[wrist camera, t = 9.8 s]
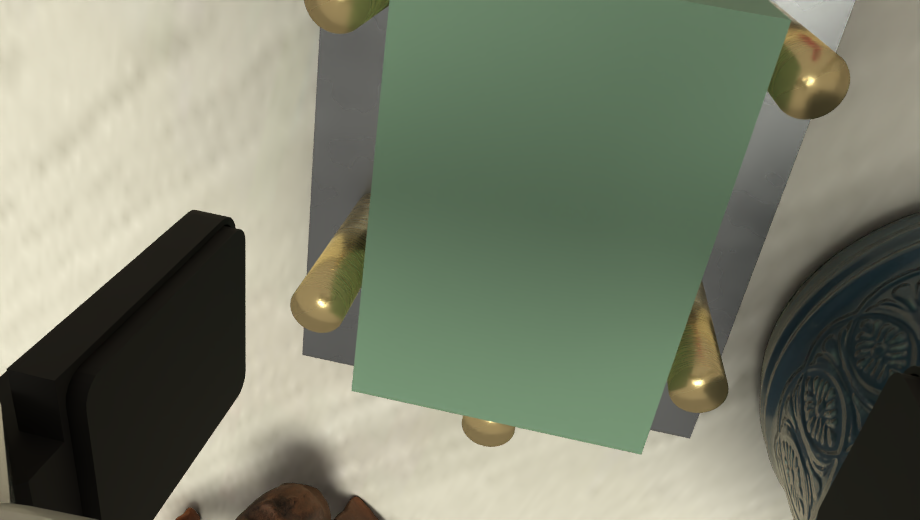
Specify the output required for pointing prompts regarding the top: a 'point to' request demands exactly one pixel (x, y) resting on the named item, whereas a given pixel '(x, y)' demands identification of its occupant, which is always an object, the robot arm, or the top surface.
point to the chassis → (731, 260)
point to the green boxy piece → (552, 201)
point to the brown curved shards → (295, 506)
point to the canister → (838, 358)
